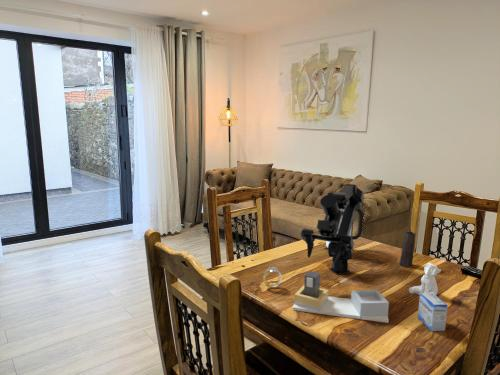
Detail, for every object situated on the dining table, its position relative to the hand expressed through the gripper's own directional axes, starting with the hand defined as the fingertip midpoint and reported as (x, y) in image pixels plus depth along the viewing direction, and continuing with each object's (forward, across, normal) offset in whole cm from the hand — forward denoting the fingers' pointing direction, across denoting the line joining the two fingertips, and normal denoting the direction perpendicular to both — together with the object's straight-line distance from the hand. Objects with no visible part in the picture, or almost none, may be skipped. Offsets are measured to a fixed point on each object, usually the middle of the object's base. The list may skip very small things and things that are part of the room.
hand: (320, 259), depth 130 cm
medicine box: (+11, +36, +9) cm, 39 cm away
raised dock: (+12, +18, +7) cm, 23 cm away
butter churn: (-22, +24, +42) cm, 54 cm away
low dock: (+15, 0, +4) cm, 16 cm away
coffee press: (-26, -7, +46) cm, 53 cm away
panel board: (+14, +9, +6) cm, 17 cm away
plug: (+14, 0, +2) cm, 14 cm away
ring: (+12, -18, +8) cm, 22 cm away
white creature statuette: (-4, +34, +24) cm, 41 cm away
